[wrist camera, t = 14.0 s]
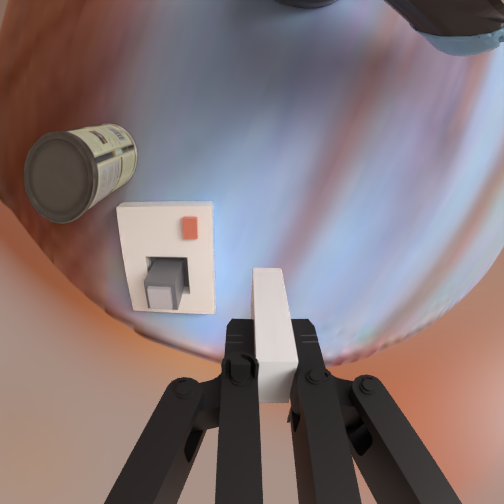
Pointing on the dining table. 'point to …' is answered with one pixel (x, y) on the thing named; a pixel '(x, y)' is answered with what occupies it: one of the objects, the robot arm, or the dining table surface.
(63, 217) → the coffee can
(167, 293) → the plug
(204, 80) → the dining table surface
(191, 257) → the socket plate
